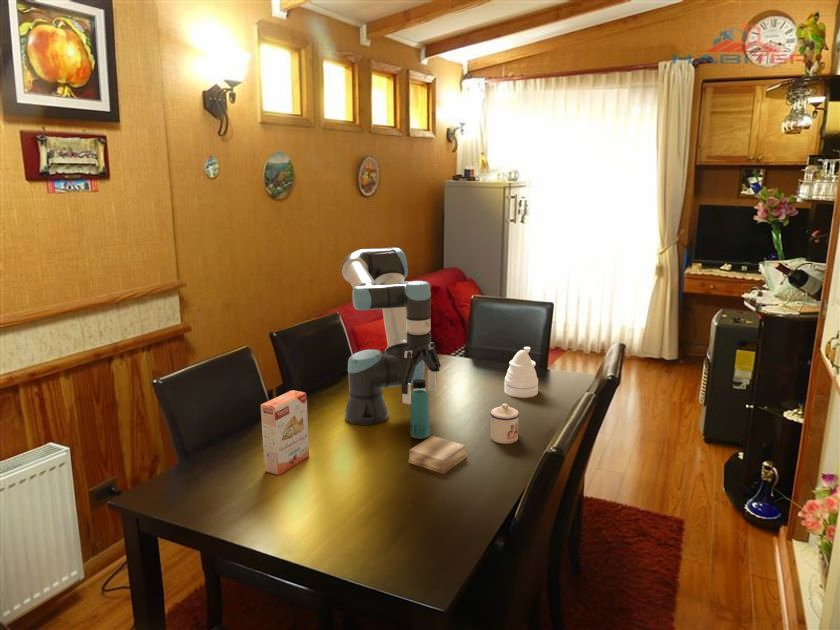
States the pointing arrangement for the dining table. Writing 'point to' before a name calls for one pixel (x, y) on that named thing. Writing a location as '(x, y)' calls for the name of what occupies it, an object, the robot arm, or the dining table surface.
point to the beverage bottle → (419, 410)
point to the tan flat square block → (437, 454)
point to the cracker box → (285, 431)
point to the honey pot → (521, 376)
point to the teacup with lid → (504, 424)
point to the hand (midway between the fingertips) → (419, 396)
